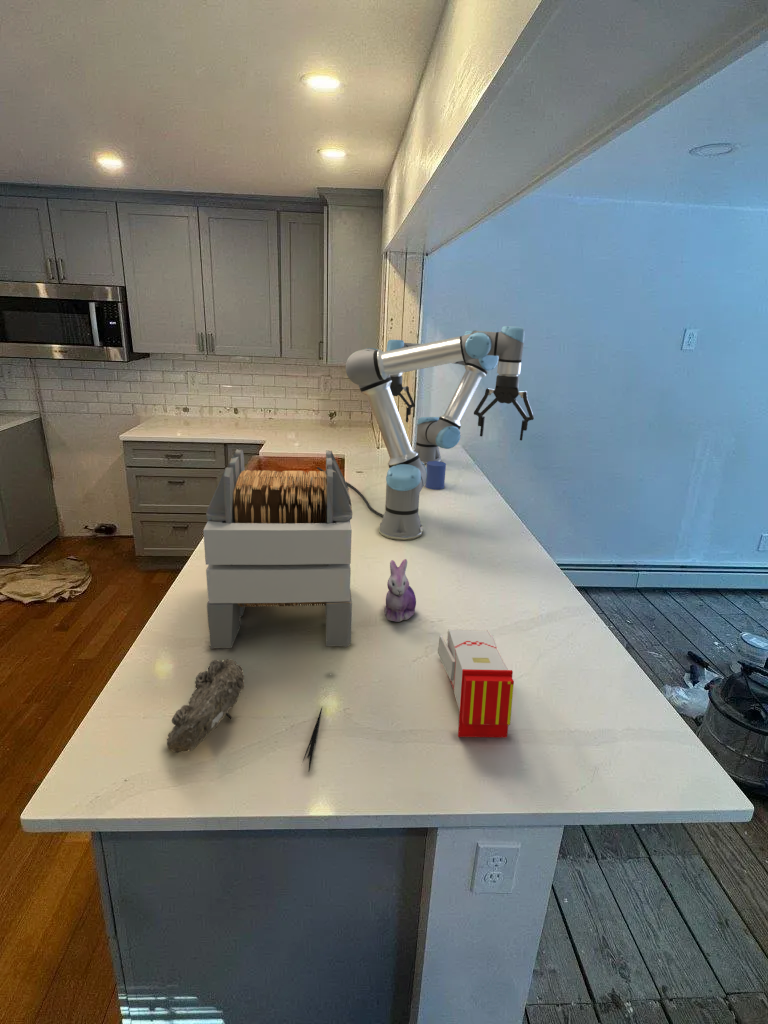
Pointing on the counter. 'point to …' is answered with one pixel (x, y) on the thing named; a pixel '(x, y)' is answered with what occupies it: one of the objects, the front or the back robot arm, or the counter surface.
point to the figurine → (399, 594)
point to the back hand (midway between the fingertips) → (392, 421)
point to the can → (435, 475)
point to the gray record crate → (278, 547)
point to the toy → (478, 682)
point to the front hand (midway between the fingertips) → (501, 437)
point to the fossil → (206, 705)
